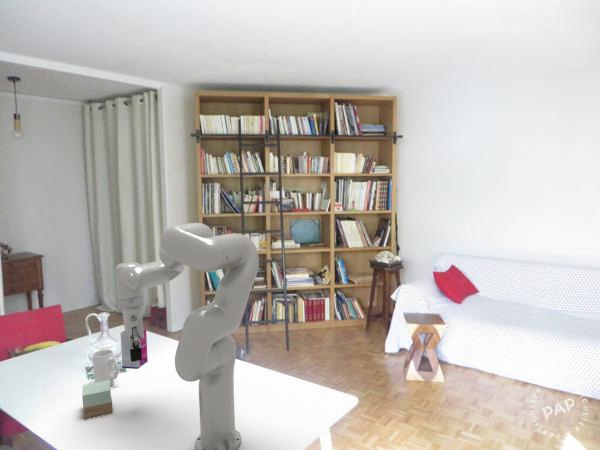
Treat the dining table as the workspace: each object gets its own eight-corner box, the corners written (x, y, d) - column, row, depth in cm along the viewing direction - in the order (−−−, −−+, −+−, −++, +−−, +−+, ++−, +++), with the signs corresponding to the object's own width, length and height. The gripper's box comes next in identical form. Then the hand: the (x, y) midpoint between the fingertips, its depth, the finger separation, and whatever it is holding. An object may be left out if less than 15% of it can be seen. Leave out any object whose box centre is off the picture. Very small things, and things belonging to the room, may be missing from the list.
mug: (90, 387, 157) (88, 355, 155) (104, 379, 163) (102, 348, 162) (112, 391, 153) (110, 358, 152) (125, 383, 159) (124, 351, 158)
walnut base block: (112, 413, 139) (112, 401, 138) (85, 420, 135) (84, 408, 135) (110, 402, 146) (110, 391, 145) (84, 408, 142) (83, 397, 142)
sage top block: (111, 402, 138) (110, 390, 138) (83, 408, 135) (82, 395, 134) (110, 391, 145) (109, 379, 145) (84, 396, 142) (83, 385, 142)
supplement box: (138, 369, 135) (136, 333, 134) (121, 368, 136) (118, 332, 135) (148, 361, 140) (146, 327, 139) (132, 361, 142) (129, 326, 140)
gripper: (147, 306, 130) (151, 362, 132) (139, 294, 146) (143, 345, 147) (120, 310, 127) (124, 368, 128) (115, 297, 142) (119, 349, 144)
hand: (134, 355), depth 138 cm, fingers closed on supplement box, 7 cm apart
